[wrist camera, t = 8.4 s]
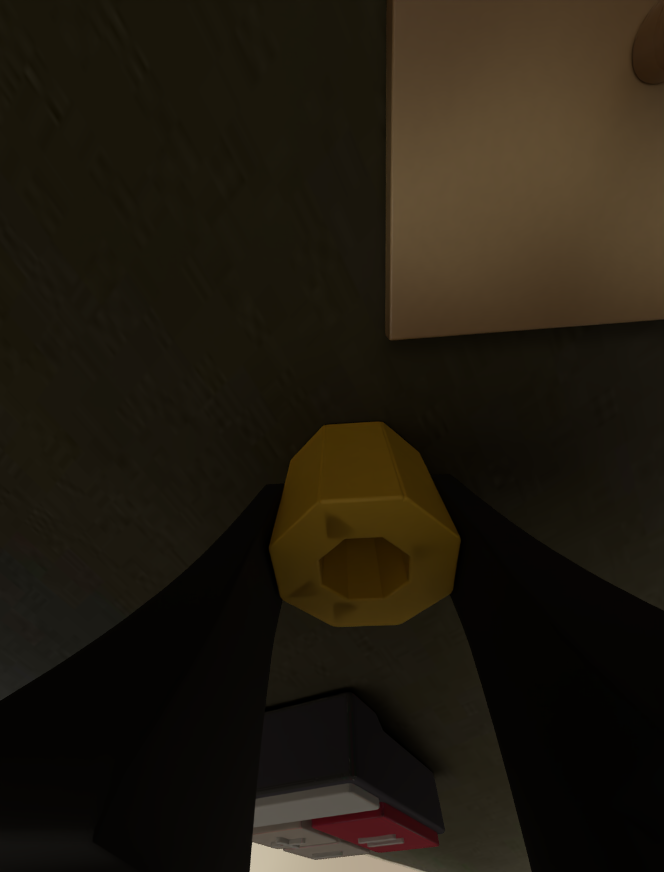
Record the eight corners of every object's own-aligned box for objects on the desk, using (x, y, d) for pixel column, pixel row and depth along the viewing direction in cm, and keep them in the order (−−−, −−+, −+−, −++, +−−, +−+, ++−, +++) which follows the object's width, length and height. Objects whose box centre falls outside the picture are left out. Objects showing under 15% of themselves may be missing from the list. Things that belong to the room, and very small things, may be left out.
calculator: (312, 866, 23) (175, 830, 16) (314, 782, 27) (203, 725, 20) (451, 851, 21) (357, 803, 14) (432, 761, 24) (350, 689, 18)
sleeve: (415, 522, 12) (448, 624, 8) (301, 528, 12) (286, 629, 9) (422, 417, 10) (470, 493, 6) (284, 426, 10) (256, 504, 7)
